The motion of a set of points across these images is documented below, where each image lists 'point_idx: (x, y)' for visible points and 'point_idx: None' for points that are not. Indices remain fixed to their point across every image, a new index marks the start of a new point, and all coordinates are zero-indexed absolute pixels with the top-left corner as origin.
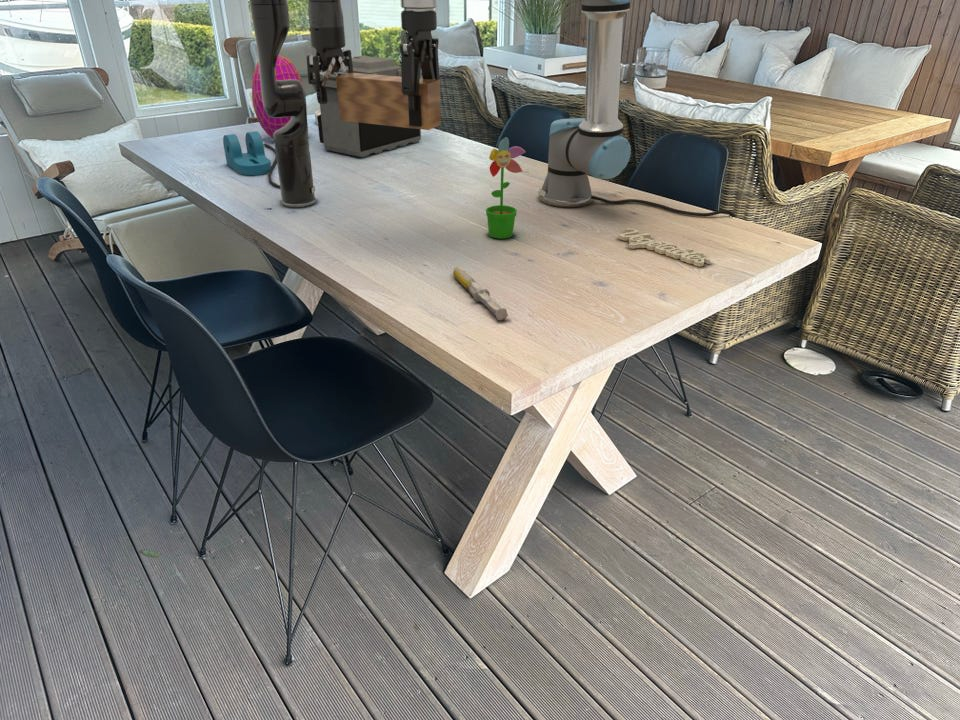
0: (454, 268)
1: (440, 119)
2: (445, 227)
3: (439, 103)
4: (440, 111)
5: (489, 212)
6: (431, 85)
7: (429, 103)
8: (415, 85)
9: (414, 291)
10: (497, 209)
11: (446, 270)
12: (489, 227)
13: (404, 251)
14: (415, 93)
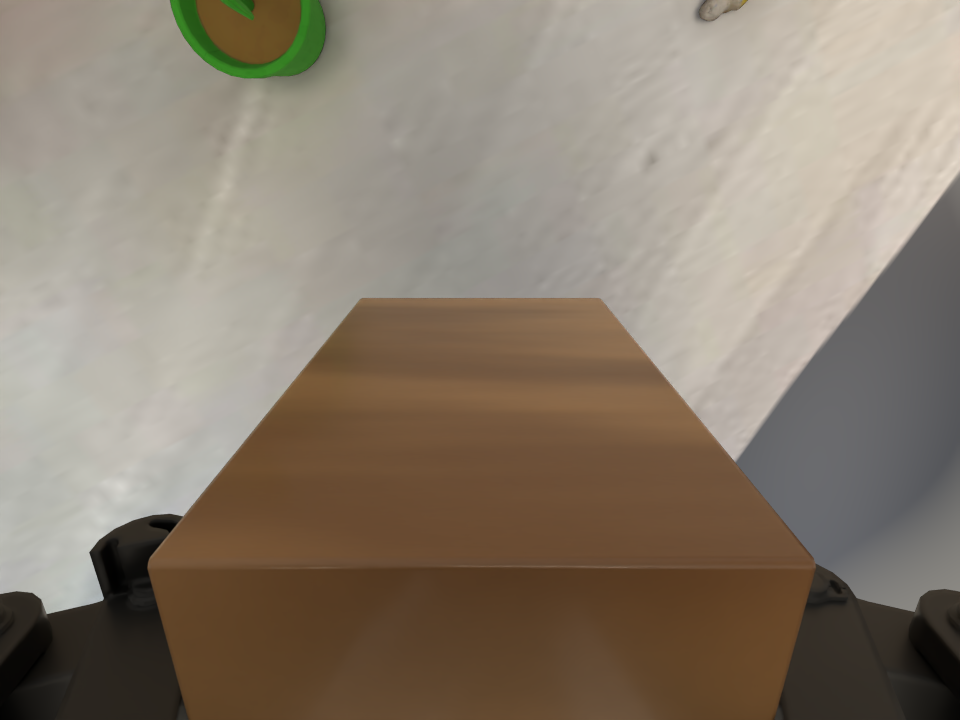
0: (717, 13)
1: (361, 311)
2: (314, 258)
3: (339, 366)
4: (342, 332)
5: (299, 39)
6: (608, 523)
7: (632, 383)
8: (884, 708)
9: (856, 91)
10: (209, 44)
11: (669, 71)
12: (311, 54)
13: (566, 277)
14: (849, 589)
